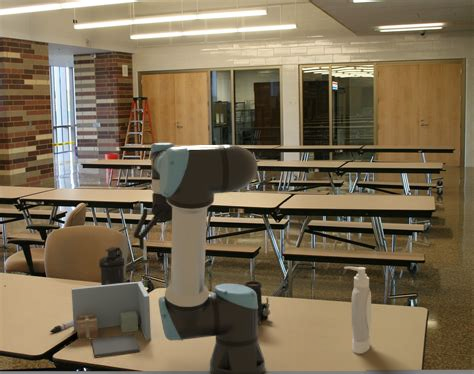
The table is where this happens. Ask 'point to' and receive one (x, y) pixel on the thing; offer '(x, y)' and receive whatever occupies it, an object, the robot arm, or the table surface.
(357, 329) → the soap bottle
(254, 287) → the scope
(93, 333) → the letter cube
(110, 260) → the grenade
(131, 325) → the plain cube
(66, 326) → the marker
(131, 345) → the mat
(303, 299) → the table surface
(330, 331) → the table surface
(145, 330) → the screen
